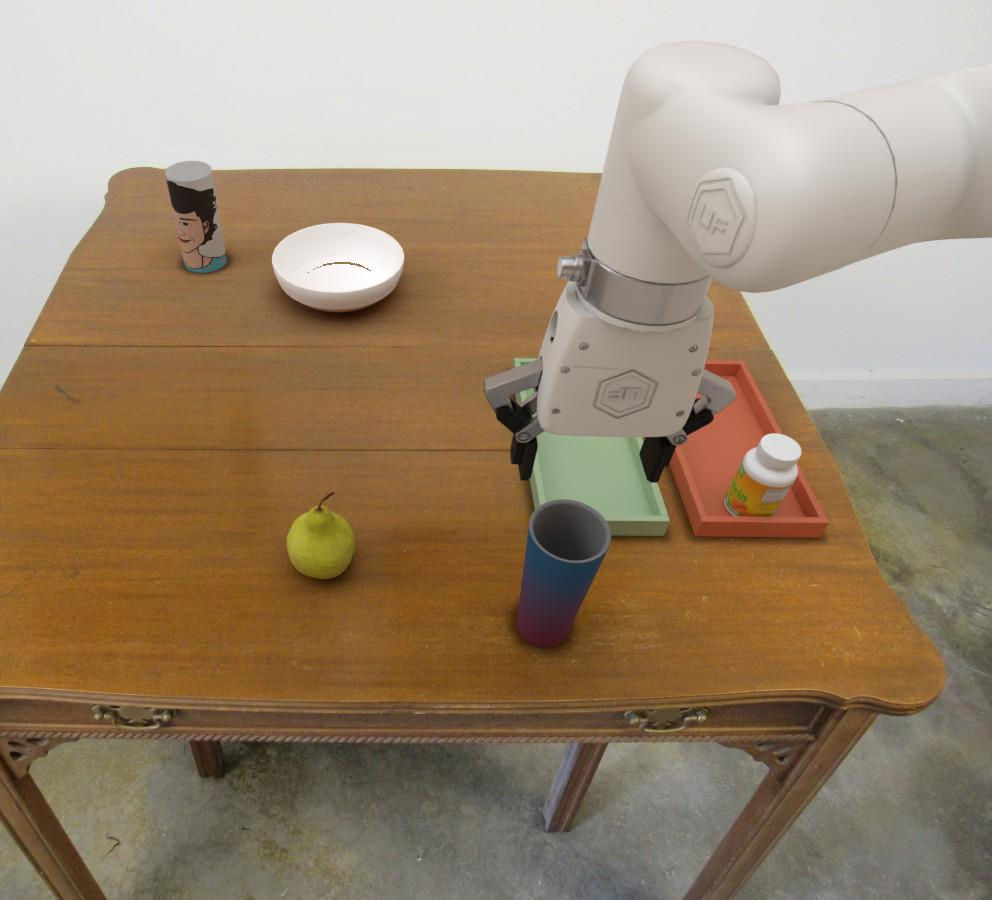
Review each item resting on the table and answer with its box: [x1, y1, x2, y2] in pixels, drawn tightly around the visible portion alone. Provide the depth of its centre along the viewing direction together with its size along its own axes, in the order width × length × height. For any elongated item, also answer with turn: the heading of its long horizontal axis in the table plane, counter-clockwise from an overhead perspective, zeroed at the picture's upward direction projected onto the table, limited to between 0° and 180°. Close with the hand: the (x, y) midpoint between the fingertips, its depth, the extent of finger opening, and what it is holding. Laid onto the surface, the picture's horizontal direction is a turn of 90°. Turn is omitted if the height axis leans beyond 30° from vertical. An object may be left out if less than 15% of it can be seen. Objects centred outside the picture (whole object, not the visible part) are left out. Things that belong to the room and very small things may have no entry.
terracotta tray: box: [668, 359, 830, 539], centre depth 89 cm, size 28×14×3 cm, turn 0°
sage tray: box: [511, 357, 671, 537], centre depth 89 cm, size 28×14×3 cm, turn 0°
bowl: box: [271, 222, 405, 313], centre depth 111 cm, size 20×20×6 cm
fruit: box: [286, 491, 356, 580], centre depth 73 cm, size 7×7×12 cm
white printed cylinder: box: [164, 160, 228, 274], centre depth 113 cm, size 7×7×15 cm
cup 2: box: [516, 499, 612, 649], centre depth 67 cm, size 7×7×15 cm
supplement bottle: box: [724, 433, 803, 517], centre depth 79 cm, size 5×5×10 cm
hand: (585, 468), depth 57 cm, fingers open, 9 cm apart
